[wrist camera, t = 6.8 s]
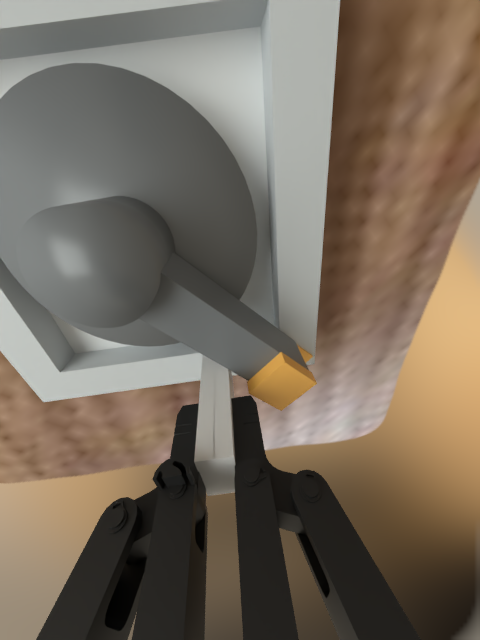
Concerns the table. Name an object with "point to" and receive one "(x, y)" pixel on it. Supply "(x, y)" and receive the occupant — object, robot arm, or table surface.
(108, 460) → the table surface
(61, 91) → the dial
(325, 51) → the dial panel
